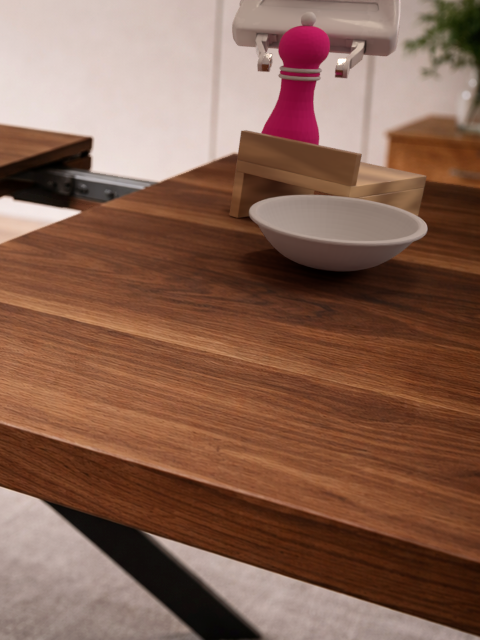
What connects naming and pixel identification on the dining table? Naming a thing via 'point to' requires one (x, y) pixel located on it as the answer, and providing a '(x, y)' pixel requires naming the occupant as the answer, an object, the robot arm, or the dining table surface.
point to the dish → (336, 230)
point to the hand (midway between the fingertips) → (301, 71)
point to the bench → (315, 174)
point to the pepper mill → (299, 82)
